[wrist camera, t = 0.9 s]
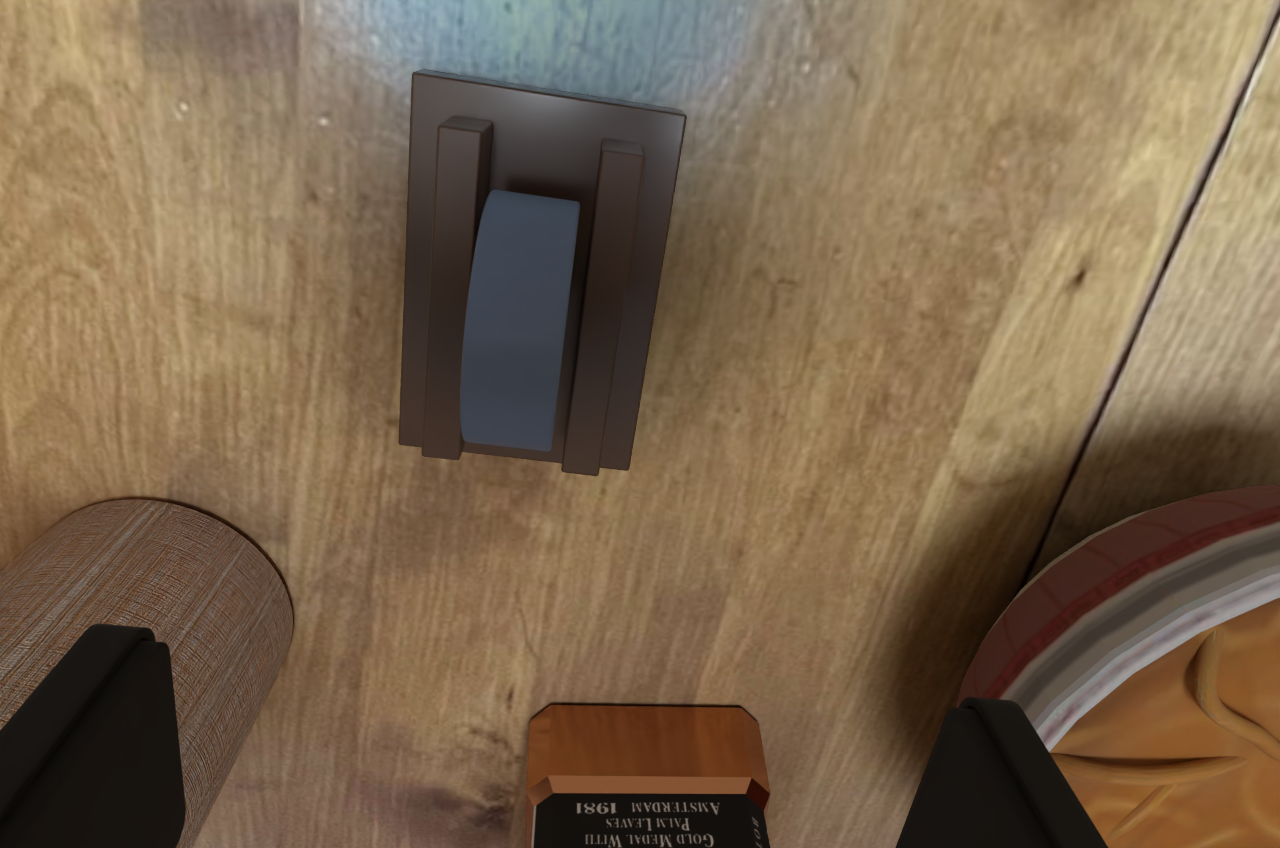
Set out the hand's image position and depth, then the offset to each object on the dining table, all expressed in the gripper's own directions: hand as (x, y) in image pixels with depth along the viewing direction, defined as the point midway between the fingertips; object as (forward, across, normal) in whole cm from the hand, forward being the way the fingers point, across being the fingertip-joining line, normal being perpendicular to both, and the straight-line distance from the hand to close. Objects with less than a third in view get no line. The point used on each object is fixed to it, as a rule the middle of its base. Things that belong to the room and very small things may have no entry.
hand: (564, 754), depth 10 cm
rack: (+20, +2, 0) cm, 20 cm away
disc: (+19, +2, 0) cm, 19 cm away
